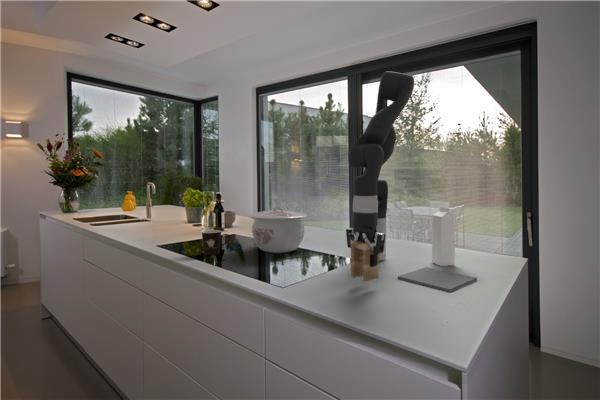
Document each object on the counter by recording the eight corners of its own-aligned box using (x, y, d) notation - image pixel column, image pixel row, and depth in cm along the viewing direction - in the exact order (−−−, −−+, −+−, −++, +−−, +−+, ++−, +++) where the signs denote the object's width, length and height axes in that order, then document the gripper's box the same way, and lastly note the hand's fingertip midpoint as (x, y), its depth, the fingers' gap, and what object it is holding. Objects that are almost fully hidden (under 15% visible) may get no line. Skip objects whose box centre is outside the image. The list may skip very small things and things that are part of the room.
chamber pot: (301, 258, 146) (301, 209, 145) (240, 255, 152) (239, 208, 150) (312, 245, 174) (312, 204, 172) (260, 243, 179) (259, 203, 178)
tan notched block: (350, 277, 108) (350, 241, 107) (363, 273, 112) (364, 238, 111) (365, 281, 103) (365, 244, 102) (378, 277, 107) (379, 241, 106)
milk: (440, 266, 132) (441, 208, 130) (431, 262, 138) (432, 207, 136) (454, 265, 133) (456, 208, 131) (445, 261, 139) (446, 206, 137)
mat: (397, 278, 116) (397, 276, 116) (426, 269, 128) (426, 267, 128) (449, 292, 102) (449, 289, 102) (476, 280, 114) (477, 277, 114)
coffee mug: (198, 255, 154) (197, 232, 153) (208, 251, 162) (208, 229, 161) (221, 256, 150) (221, 233, 149) (231, 252, 158) (230, 230, 158)
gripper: (392, 211, 103) (391, 267, 104) (355, 207, 114) (355, 257, 115) (376, 213, 98) (375, 271, 99) (339, 209, 109) (339, 261, 111)
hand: (364, 264), depth 107 cm, fingers closed on tan notched block, 6 cm apart
